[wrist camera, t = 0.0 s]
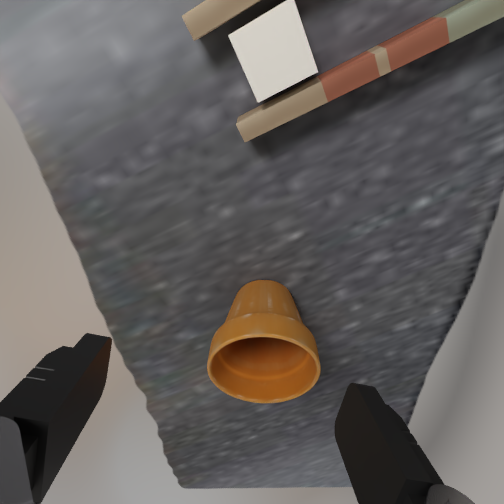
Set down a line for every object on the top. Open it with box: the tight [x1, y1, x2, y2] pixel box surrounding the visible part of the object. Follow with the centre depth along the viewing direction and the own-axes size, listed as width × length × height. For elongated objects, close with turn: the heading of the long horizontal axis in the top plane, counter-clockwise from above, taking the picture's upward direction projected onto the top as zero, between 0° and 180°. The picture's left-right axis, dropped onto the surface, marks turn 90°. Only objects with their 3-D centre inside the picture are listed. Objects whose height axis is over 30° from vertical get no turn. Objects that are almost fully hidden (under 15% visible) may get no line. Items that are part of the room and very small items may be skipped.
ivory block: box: [228, 0, 318, 103], centre depth 31 cm, size 6×6×4 cm
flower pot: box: [207, 280, 321, 403], centre depth 47 cm, size 14×14×13 cm
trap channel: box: [182, 0, 504, 142], centre depth 29 cm, size 12×28×3 cm, turn 116°
